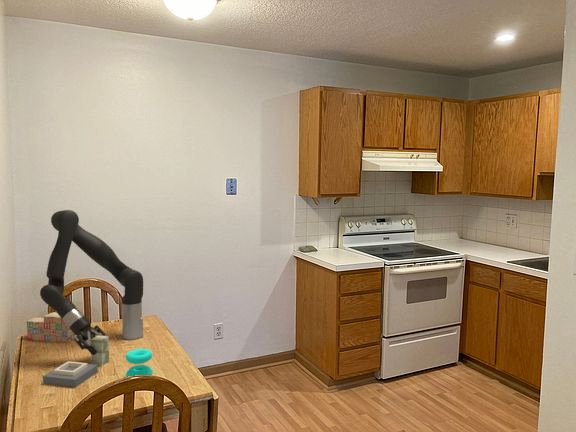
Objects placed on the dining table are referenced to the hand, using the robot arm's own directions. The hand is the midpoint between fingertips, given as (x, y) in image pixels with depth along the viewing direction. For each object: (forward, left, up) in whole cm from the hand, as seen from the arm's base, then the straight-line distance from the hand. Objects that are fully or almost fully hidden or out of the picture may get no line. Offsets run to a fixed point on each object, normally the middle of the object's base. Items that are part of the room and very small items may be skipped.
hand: (101, 350), depth 201 cm
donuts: (-11, +21, -6) cm, 24 cm away
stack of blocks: (+18, -41, -6) cm, 45 cm away
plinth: (+13, +10, -6) cm, 17 cm away
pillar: (+1, 0, -6) cm, 6 cm away
